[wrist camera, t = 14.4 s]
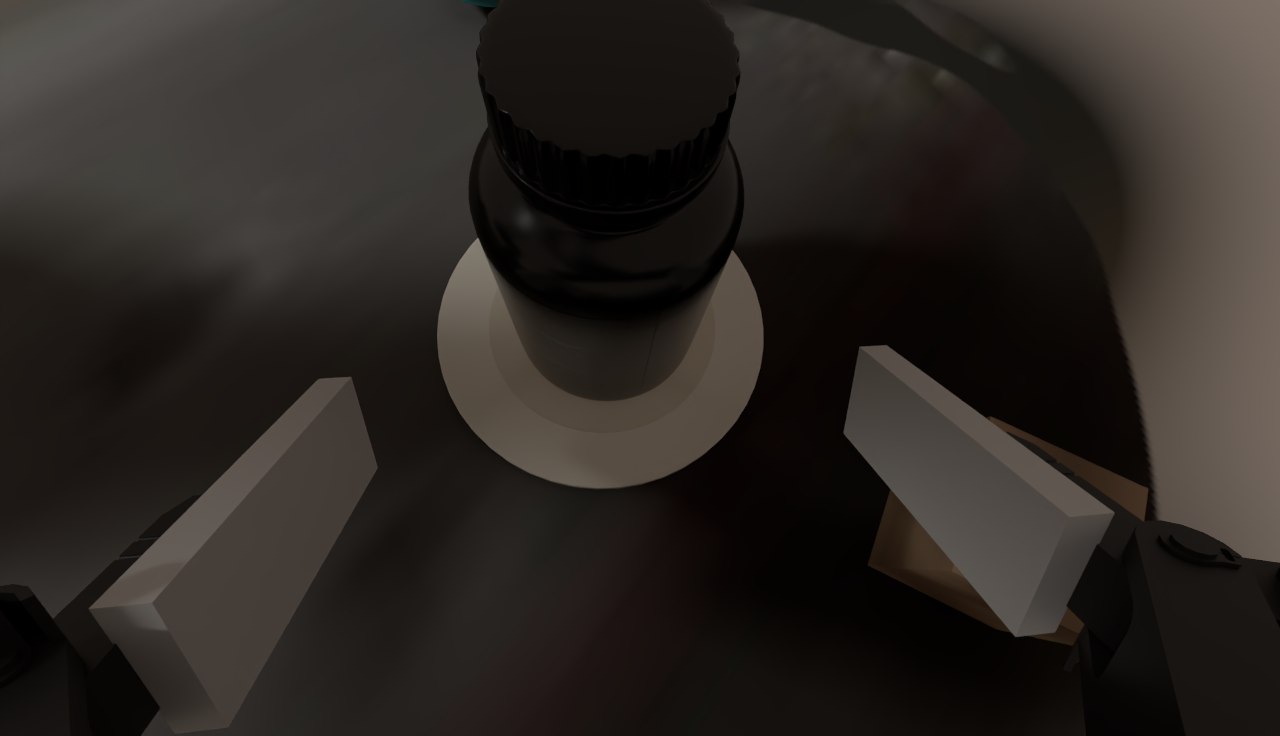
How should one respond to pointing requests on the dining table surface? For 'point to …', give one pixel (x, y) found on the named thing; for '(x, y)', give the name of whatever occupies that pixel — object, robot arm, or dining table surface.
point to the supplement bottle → (607, 182)
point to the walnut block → (931, 572)
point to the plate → (587, 429)
